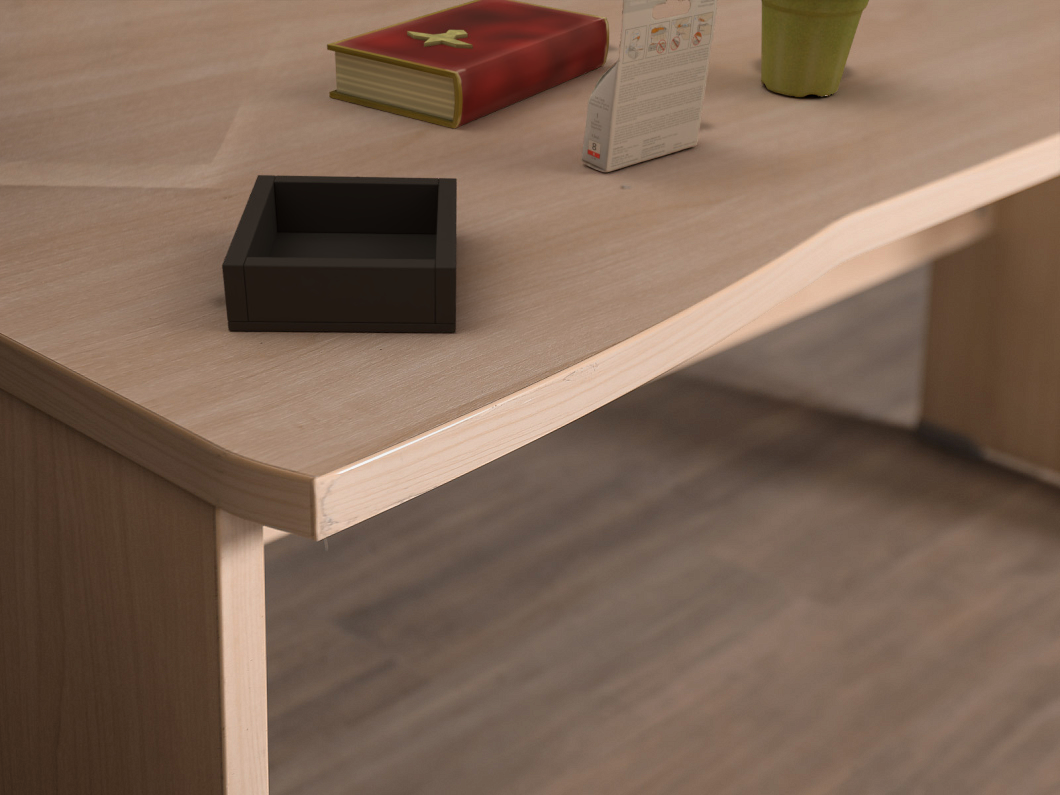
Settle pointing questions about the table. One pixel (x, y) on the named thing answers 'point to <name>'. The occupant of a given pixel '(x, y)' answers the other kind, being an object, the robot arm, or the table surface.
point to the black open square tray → (344, 255)
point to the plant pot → (807, 44)
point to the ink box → (651, 87)
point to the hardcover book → (467, 59)
